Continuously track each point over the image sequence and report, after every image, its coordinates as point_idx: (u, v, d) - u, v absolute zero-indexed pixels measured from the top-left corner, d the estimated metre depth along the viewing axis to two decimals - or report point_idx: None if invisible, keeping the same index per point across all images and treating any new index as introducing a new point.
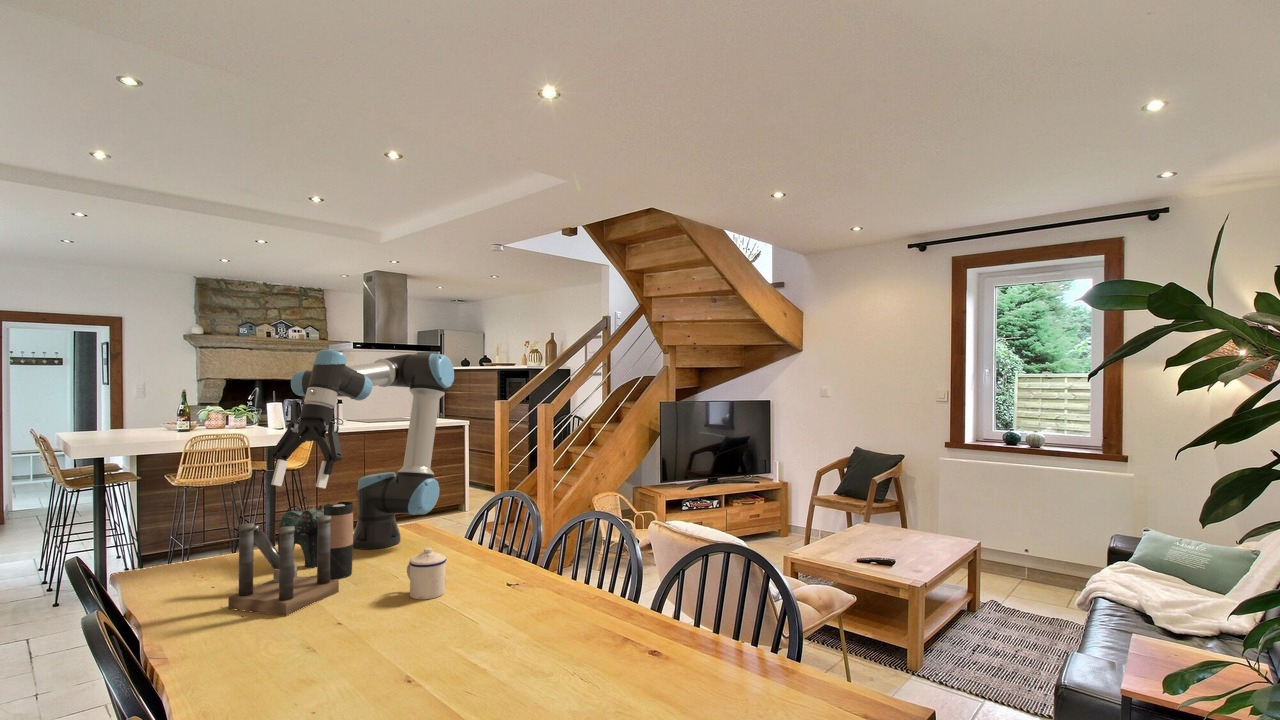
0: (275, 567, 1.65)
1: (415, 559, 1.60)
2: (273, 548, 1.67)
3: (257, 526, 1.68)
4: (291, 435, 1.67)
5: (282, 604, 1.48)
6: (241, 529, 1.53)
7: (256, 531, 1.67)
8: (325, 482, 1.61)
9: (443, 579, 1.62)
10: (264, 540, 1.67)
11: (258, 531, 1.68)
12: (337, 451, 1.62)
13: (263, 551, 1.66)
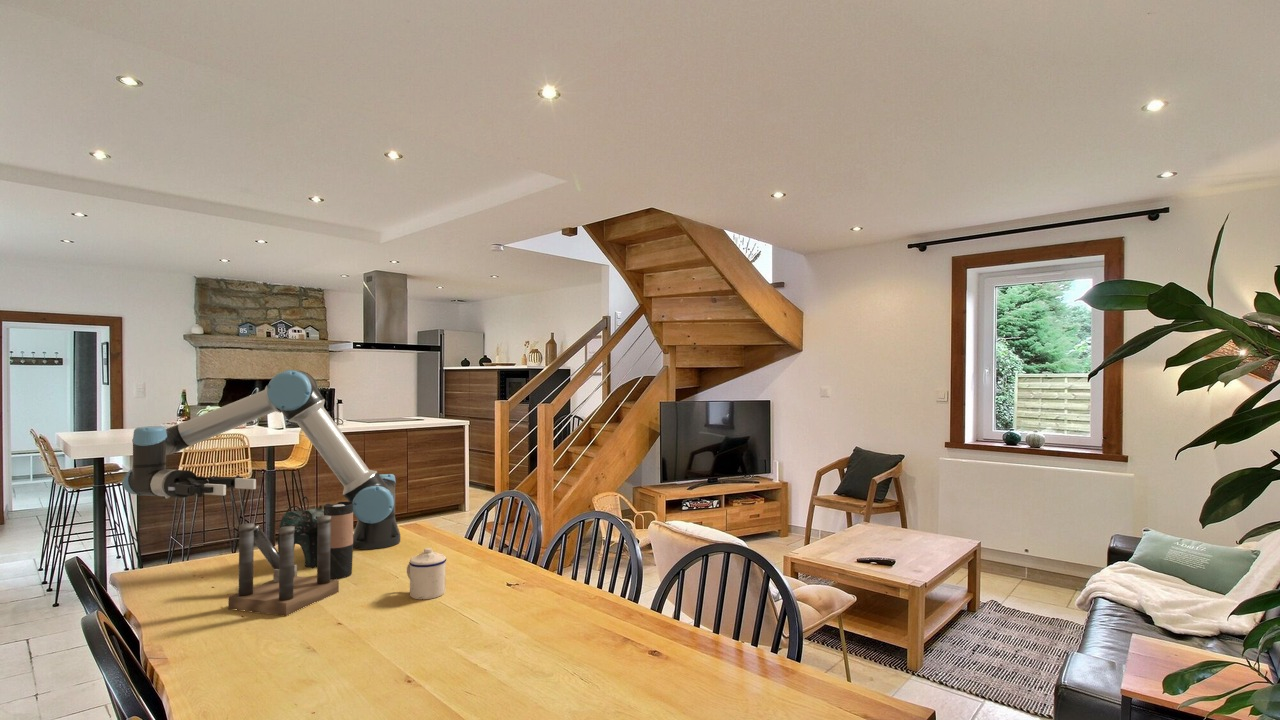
0: (275, 567, 1.65)
1: (415, 559, 1.60)
2: (273, 548, 1.67)
3: (257, 526, 1.68)
4: None
5: (282, 604, 1.48)
6: (241, 529, 1.53)
7: (256, 531, 1.67)
8: (219, 487, 1.67)
9: (443, 579, 1.62)
10: (264, 540, 1.67)
11: (258, 531, 1.68)
12: (186, 492, 1.66)
13: (263, 551, 1.66)
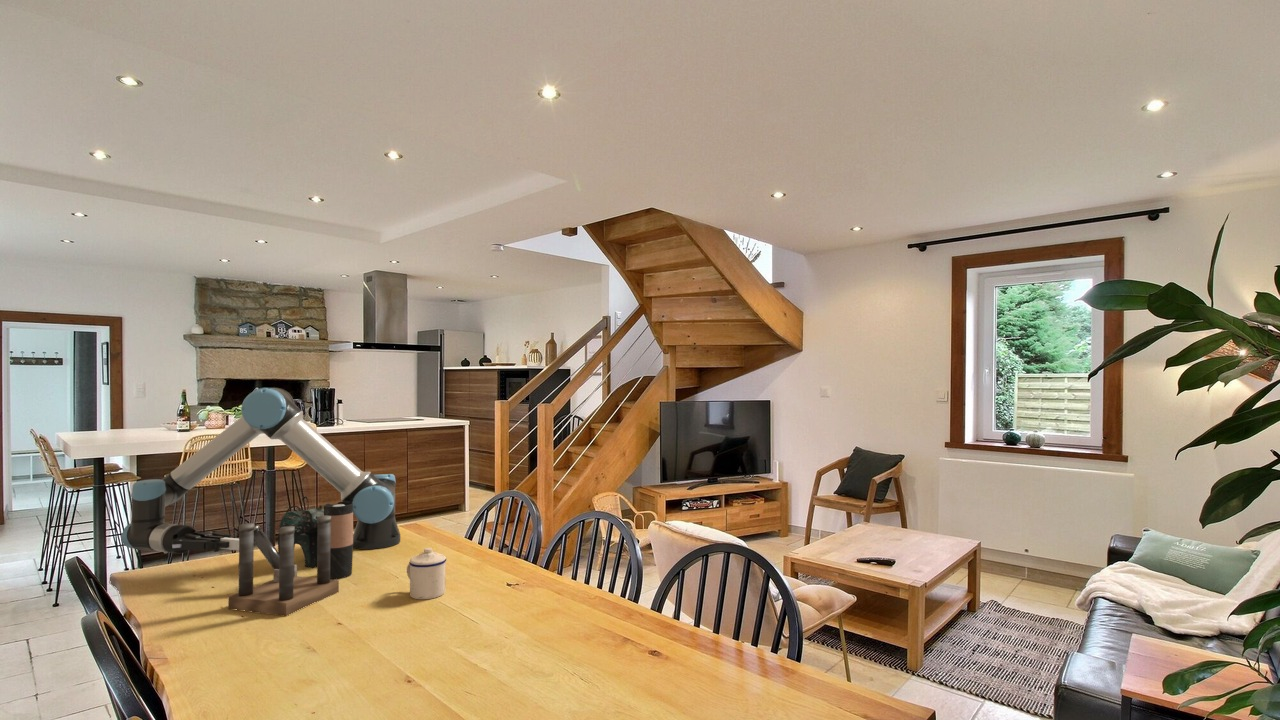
0: (275, 567, 1.65)
1: (415, 559, 1.60)
2: (273, 548, 1.67)
3: (257, 526, 1.68)
4: None
5: (282, 604, 1.48)
6: (241, 529, 1.53)
7: (256, 531, 1.67)
8: (235, 542, 1.70)
9: (443, 579, 1.62)
10: (264, 540, 1.67)
11: (258, 531, 1.68)
12: (202, 547, 1.69)
13: (263, 551, 1.66)
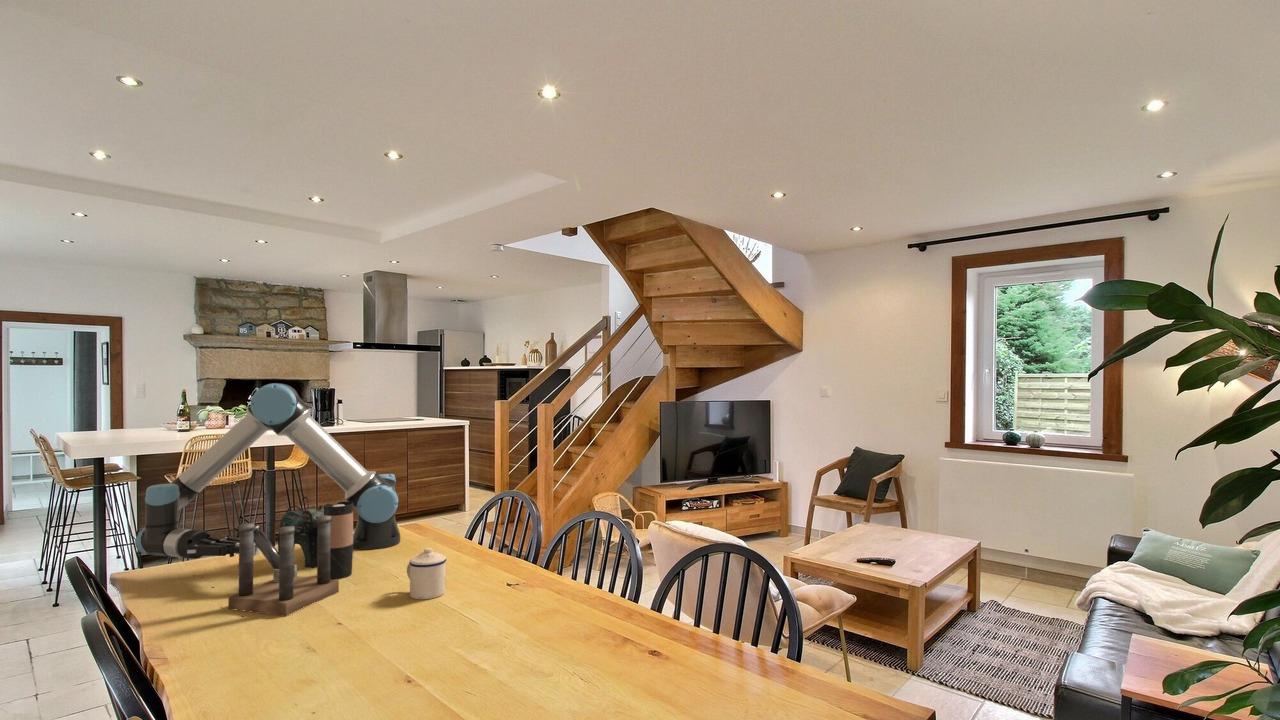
0: (275, 567, 1.65)
1: (415, 559, 1.60)
2: (273, 548, 1.67)
3: (257, 526, 1.68)
4: None
5: (282, 604, 1.48)
6: (241, 529, 1.53)
7: (256, 531, 1.67)
8: None
9: (443, 579, 1.62)
10: (264, 540, 1.67)
11: (258, 531, 1.68)
12: (217, 552, 1.67)
13: (263, 551, 1.66)
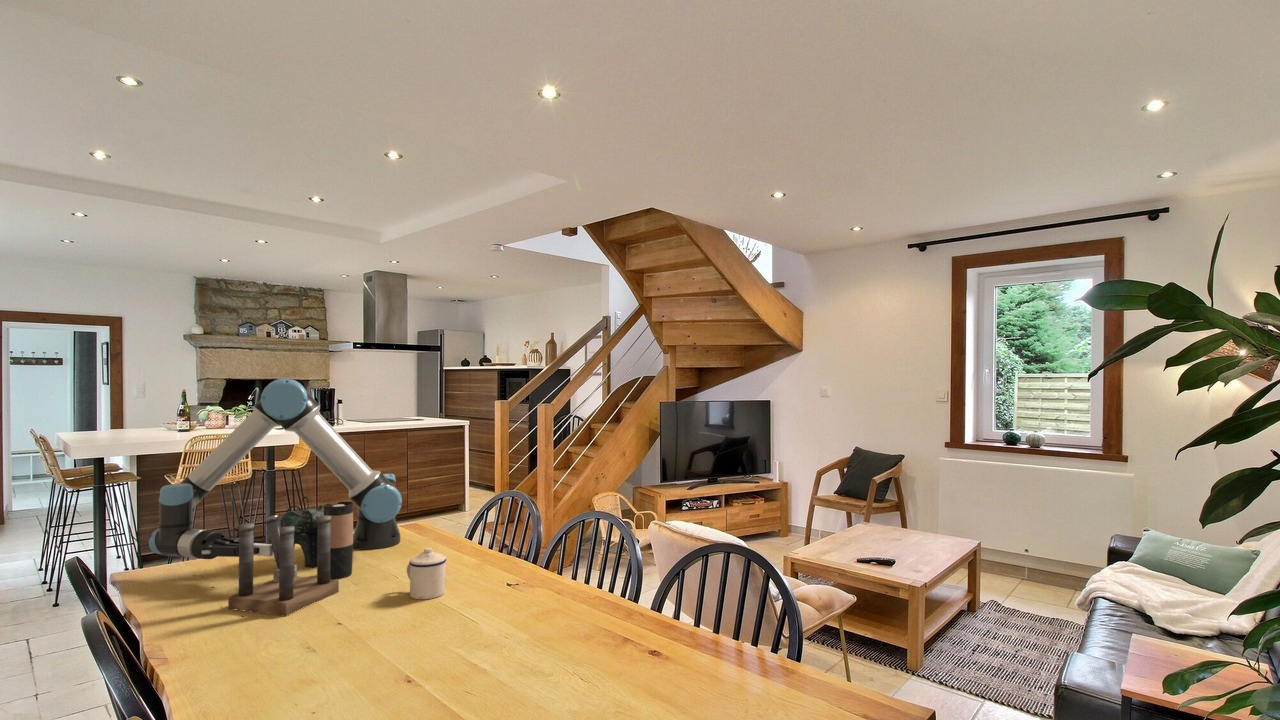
0: (278, 565, 1.64)
1: (415, 559, 1.60)
2: None
3: (276, 516, 1.67)
4: None
5: (282, 604, 1.48)
6: (241, 529, 1.53)
7: (274, 522, 1.66)
8: (265, 547, 1.66)
9: (443, 579, 1.62)
10: (278, 534, 1.66)
11: (276, 522, 1.66)
12: (231, 553, 1.65)
13: (273, 544, 1.65)
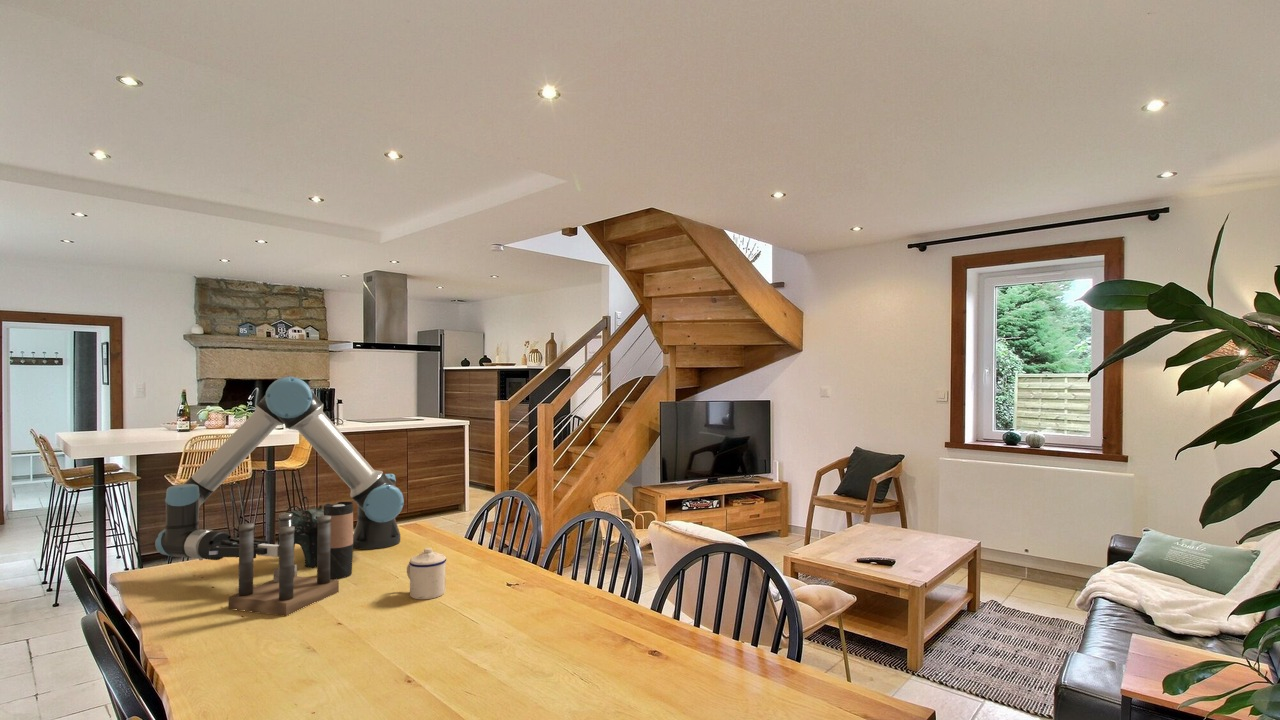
0: None
1: (415, 559, 1.60)
2: None
3: (291, 516, 1.66)
4: None
5: (282, 604, 1.48)
6: (241, 529, 1.53)
7: (287, 521, 1.65)
8: (273, 548, 1.66)
9: (443, 579, 1.62)
10: None
11: (288, 522, 1.65)
12: None
13: None
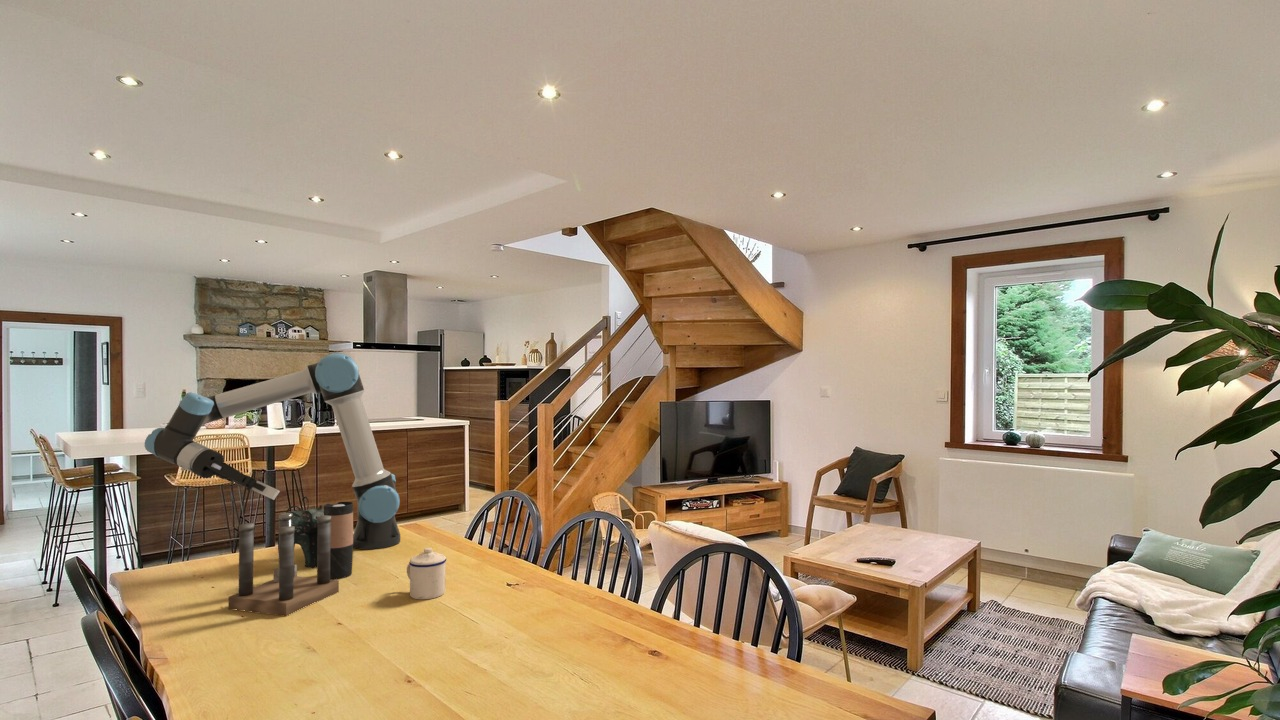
0: None
1: (415, 559, 1.60)
2: None
3: (291, 516, 1.66)
4: None
5: (282, 604, 1.48)
6: (241, 529, 1.53)
7: (287, 521, 1.65)
8: (272, 489, 1.75)
9: (443, 579, 1.62)
10: None
11: (288, 522, 1.65)
12: (240, 479, 1.72)
13: None
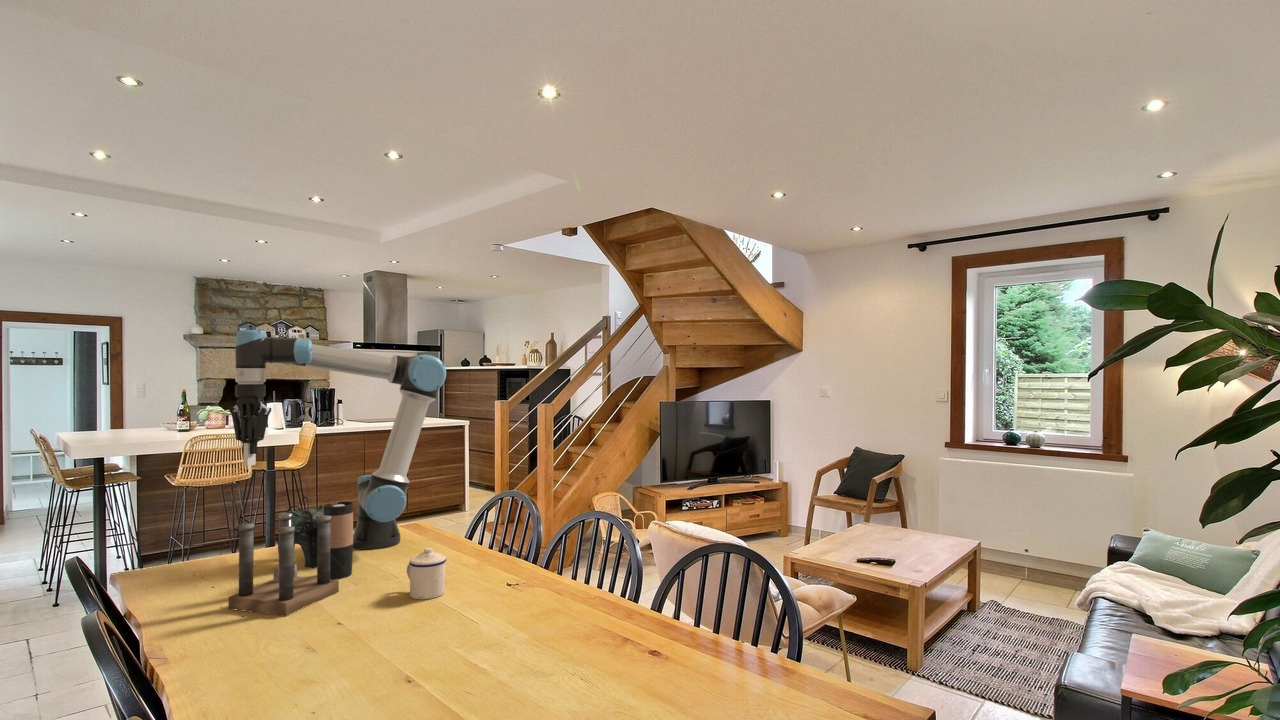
0: None
1: (415, 559, 1.60)
2: None
3: (291, 516, 1.66)
4: (239, 416, 1.83)
5: (282, 604, 1.48)
6: (241, 529, 1.53)
7: (287, 521, 1.65)
8: (254, 460, 1.83)
9: (443, 579, 1.62)
10: None
11: (288, 522, 1.65)
12: (260, 434, 1.81)
13: None
